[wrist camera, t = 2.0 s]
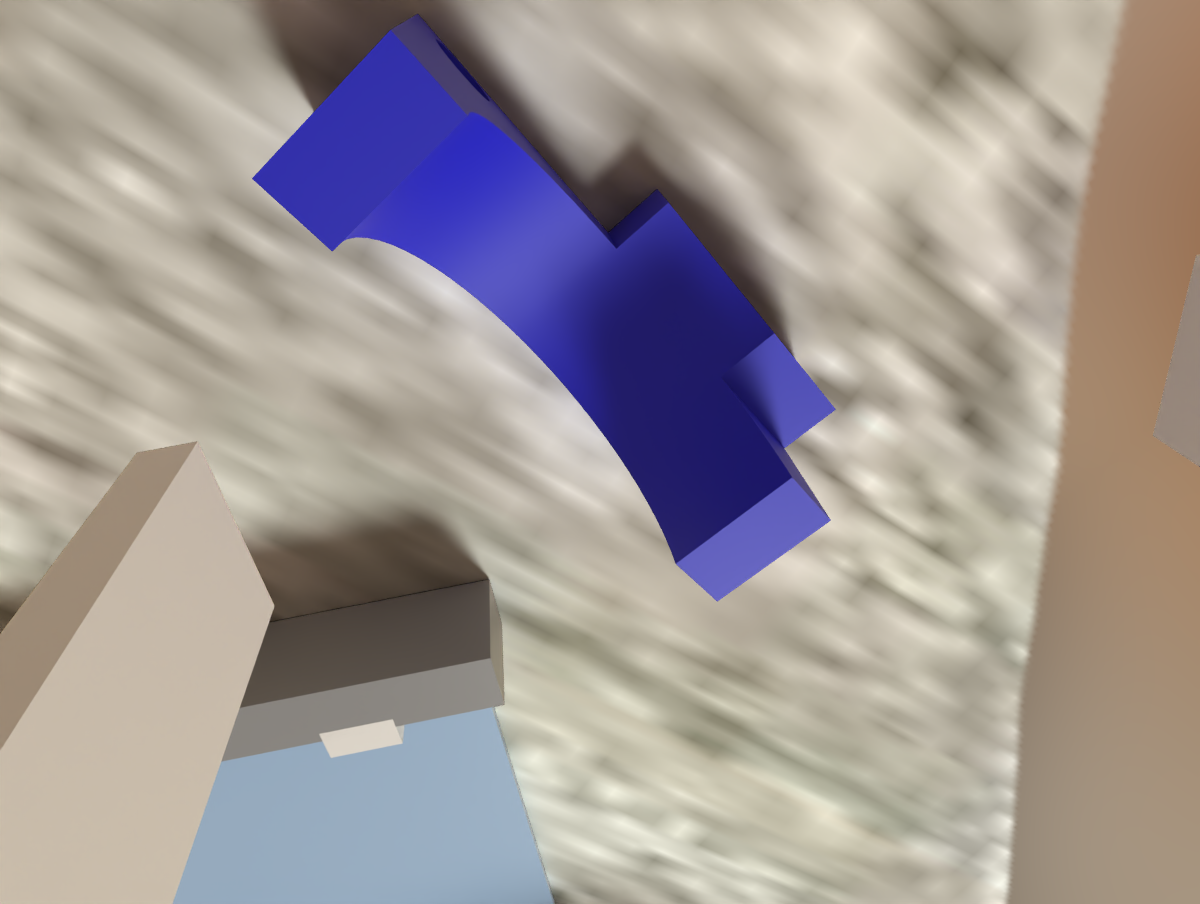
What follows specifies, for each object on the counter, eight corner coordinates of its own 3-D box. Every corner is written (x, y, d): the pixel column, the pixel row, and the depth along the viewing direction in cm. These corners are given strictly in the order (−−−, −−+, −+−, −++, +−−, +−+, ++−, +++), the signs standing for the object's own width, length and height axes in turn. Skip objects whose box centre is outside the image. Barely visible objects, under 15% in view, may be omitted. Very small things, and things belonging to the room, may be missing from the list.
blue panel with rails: (-199, 714, 23) (-290, 813, 20) (489, 579, 24) (490, 658, 21) (125, 1042, 34) (94, 1136, 31) (592, 943, 34) (601, 1026, 32)
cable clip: (793, 357, 21) (891, 477, 16) (663, 460, 23) (717, 601, 17) (470, -43, 16) (466, -53, 11) (320, 118, 17) (252, 178, 12)
